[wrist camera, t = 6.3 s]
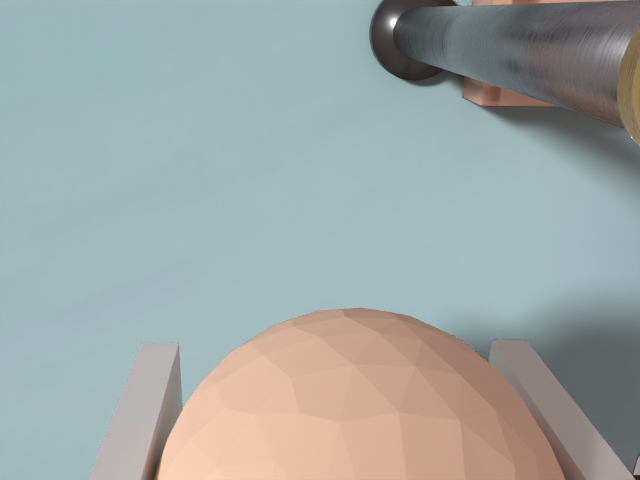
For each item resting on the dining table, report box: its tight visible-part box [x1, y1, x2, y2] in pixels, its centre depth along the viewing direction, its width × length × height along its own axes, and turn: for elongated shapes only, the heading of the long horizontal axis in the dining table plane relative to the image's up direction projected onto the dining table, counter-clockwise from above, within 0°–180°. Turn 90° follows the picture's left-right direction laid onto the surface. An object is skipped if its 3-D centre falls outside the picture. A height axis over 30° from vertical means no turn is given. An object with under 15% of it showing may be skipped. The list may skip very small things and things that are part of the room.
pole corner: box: [370, 0, 640, 146], centre depth 13 cm, size 3×3×15 cm
